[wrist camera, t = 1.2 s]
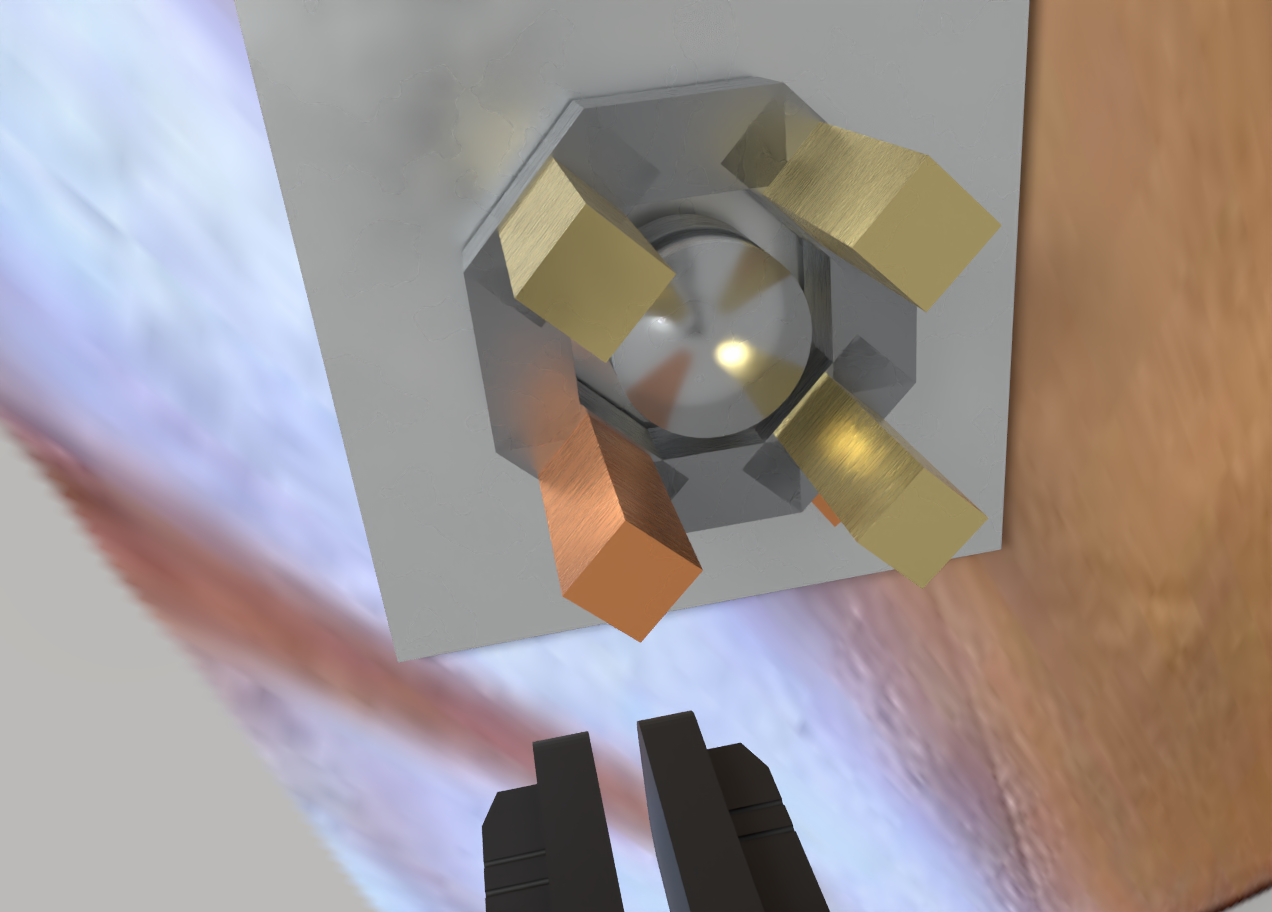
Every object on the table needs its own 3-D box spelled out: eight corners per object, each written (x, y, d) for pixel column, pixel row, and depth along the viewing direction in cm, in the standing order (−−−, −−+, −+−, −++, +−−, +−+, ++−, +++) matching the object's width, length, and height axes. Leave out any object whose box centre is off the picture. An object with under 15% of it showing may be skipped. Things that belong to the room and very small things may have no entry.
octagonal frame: (437, 117, 28) (435, 165, 20) (883, 60, 29) (1057, 83, 21) (510, 525, 33) (533, 701, 25) (884, 460, 35) (1024, 605, 26)
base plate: (229, -48, 27) (185, -59, 22) (1018, -134, 29) (1122, -158, 25) (399, 645, 36) (392, 737, 31) (987, 536, 38) (1060, 607, 34)
